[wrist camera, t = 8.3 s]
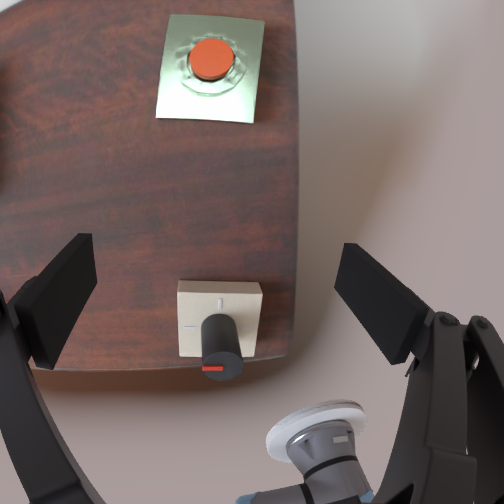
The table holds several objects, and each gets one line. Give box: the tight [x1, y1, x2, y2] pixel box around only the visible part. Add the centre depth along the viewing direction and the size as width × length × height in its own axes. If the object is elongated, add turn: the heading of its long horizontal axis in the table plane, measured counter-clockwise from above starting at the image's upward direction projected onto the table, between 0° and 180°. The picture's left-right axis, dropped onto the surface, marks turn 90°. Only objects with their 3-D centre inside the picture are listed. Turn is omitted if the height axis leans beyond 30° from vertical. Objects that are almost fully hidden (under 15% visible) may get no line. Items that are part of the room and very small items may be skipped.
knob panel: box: [177, 280, 263, 357], centre depth 37 cm, size 10×10×3 cm
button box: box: [156, 14, 265, 124], centre depth 26 cm, size 12×10×4 cm
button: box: [189, 39, 233, 80], centre depth 23 cm, size 4×4×2 cm
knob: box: [201, 314, 244, 380], centre depth 33 cm, size 4×4×7 cm
